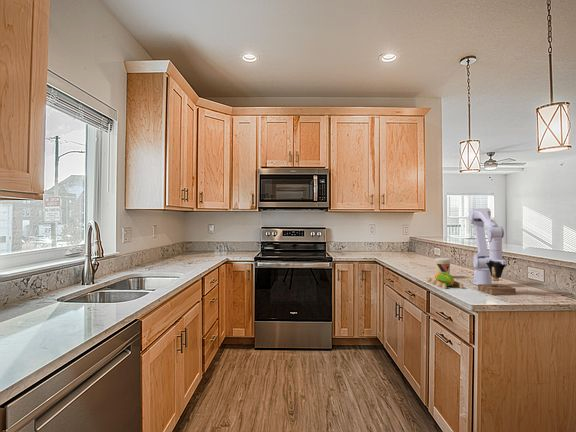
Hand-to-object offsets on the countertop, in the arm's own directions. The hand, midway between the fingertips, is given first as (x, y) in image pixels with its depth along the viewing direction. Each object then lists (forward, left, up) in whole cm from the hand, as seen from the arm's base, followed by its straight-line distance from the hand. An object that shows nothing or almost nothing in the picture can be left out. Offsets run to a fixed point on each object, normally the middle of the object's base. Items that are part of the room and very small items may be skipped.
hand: (496, 276), depth 175 cm
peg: (0, 0, -2) cm, 2 cm away
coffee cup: (-44, -7, -8) cm, 45 cm away
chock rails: (-21, -17, -8) cm, 28 cm away
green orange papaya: (-21, -18, -8) cm, 29 cm away
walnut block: (0, 0, -8) cm, 8 cm away
